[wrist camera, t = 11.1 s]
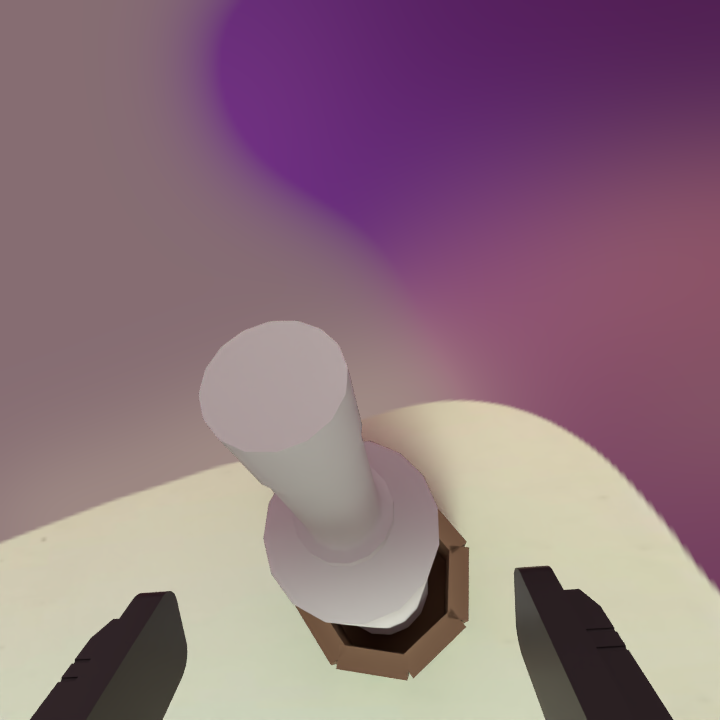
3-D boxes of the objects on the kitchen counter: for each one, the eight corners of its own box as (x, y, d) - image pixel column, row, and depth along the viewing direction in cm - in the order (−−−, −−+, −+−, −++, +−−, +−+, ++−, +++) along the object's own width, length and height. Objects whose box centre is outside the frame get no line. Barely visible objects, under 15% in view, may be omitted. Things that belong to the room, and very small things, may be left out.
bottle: (437, 627, 26) (529, 550, 5) (347, 643, 26) (39, 636, 5) (417, 532, 29) (421, 218, 7) (336, 547, 29) (113, 274, 8)
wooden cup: (302, 657, 27) (280, 659, 22) (327, 502, 31) (313, 479, 27) (459, 682, 25) (468, 690, 21) (461, 516, 30) (469, 494, 26)
